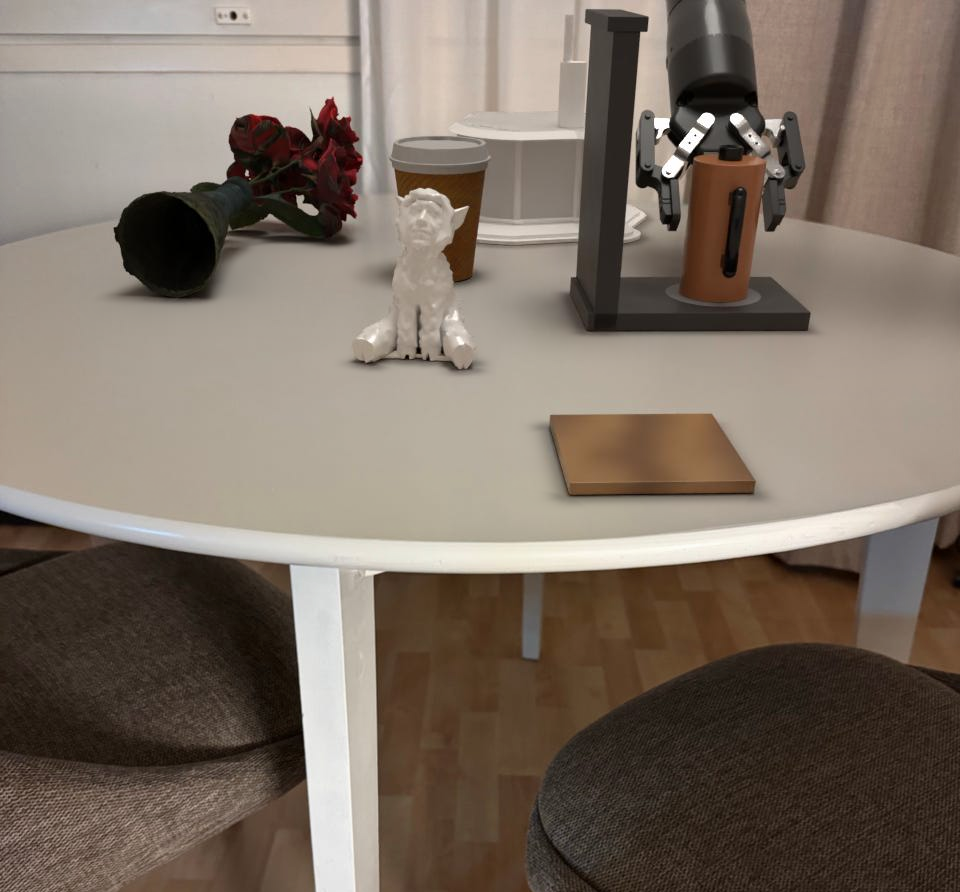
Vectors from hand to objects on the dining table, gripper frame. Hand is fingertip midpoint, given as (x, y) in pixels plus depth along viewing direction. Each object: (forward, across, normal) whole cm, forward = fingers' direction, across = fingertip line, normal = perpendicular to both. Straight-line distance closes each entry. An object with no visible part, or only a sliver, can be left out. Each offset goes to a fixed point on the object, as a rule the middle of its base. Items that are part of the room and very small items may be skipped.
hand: (724, 226), depth 91 cm
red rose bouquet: (-10, -43, +21) cm, 49 cm away
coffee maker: (+5, -3, +6) cm, 8 cm away
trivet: (+28, -12, -18) cm, 35 cm away
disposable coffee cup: (-4, -24, +15) cm, 29 cm away
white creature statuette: (+13, -26, -2) cm, 29 cm away
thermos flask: (+4, 0, +5) cm, 6 cm away
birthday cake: (-23, -12, +34) cm, 42 cm away
